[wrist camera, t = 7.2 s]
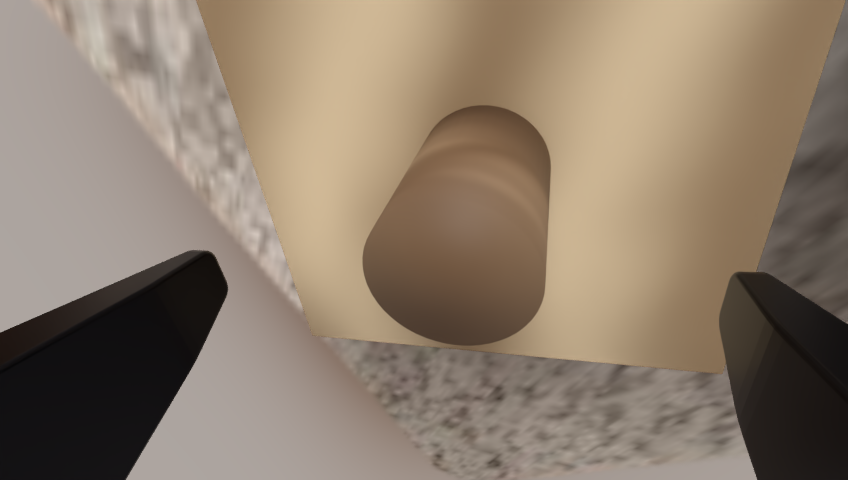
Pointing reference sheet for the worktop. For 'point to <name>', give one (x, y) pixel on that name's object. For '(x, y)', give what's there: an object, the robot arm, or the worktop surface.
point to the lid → (523, 163)
